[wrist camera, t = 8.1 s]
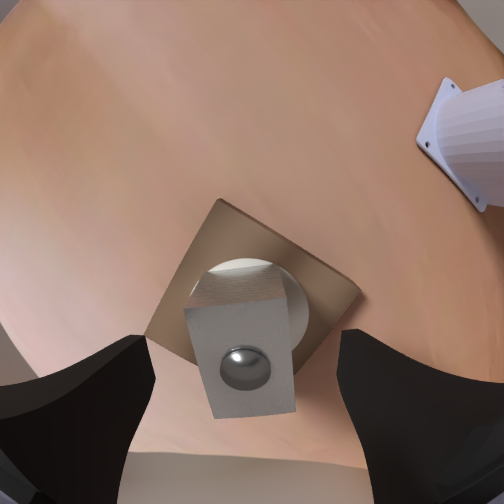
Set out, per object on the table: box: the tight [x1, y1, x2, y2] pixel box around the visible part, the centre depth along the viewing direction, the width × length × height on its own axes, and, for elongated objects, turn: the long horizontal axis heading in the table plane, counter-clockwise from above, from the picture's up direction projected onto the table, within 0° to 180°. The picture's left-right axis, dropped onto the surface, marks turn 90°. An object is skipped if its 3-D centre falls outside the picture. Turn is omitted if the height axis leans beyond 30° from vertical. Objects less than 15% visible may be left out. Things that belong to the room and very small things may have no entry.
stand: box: [144, 198, 361, 376], centre depth 19 cm, size 11×11×2 cm
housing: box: [183, 263, 296, 419], centre depth 15 cm, size 7×4×6 cm, turn 7°
